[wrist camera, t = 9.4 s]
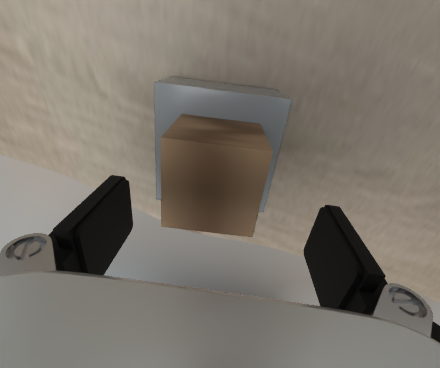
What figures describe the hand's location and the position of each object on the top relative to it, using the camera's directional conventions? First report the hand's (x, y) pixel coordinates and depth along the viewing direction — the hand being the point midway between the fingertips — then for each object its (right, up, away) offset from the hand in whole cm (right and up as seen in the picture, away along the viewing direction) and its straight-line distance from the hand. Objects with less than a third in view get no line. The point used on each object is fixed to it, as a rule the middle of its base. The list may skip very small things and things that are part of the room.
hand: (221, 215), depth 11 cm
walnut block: (0, +4, +8) cm, 9 cm away
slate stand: (0, +7, +13) cm, 14 cm away
